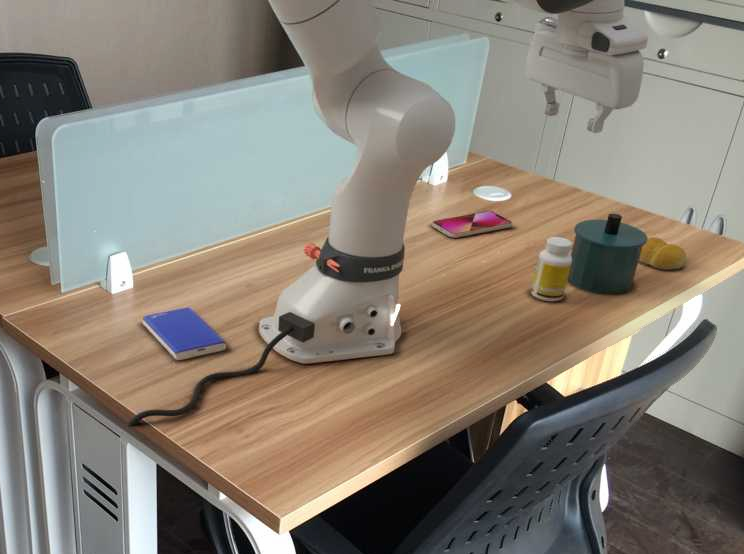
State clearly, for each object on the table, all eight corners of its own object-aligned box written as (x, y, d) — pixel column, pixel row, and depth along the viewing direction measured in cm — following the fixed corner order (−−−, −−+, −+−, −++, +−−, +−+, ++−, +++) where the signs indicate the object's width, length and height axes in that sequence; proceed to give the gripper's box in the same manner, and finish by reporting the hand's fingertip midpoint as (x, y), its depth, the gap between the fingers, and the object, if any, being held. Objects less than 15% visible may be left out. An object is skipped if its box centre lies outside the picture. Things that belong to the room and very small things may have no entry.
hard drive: (142, 316, 146) (175, 351, 137) (190, 306, 149) (226, 340, 140) (142, 325, 147) (176, 361, 138) (190, 315, 150) (226, 350, 141)
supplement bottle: (569, 300, 160) (583, 246, 155) (542, 304, 159) (555, 249, 153) (551, 287, 165) (563, 233, 159) (524, 290, 163) (536, 236, 158)
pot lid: (609, 256, 157) (616, 233, 154) (558, 231, 165) (563, 208, 163) (661, 246, 162) (667, 223, 159) (608, 221, 170) (614, 199, 168)
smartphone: (430, 221, 186) (490, 210, 192) (429, 226, 187) (489, 214, 192) (453, 234, 181) (514, 223, 186) (452, 239, 181) (513, 227, 187)
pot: (598, 298, 162) (610, 251, 157) (553, 273, 170) (563, 228, 165) (644, 287, 166) (657, 242, 161) (598, 263, 174) (609, 219, 169)
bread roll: (670, 275, 171) (676, 254, 169) (625, 258, 177) (631, 238, 174) (692, 264, 176) (699, 243, 173) (648, 248, 181) (654, 228, 179)
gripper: (522, 17, 144) (510, 108, 152) (624, 45, 129) (605, 145, 137) (554, 11, 146) (540, 101, 154) (657, 39, 131) (636, 137, 140)
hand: (571, 122), depth 146 cm, fingers open, 8 cm apart
